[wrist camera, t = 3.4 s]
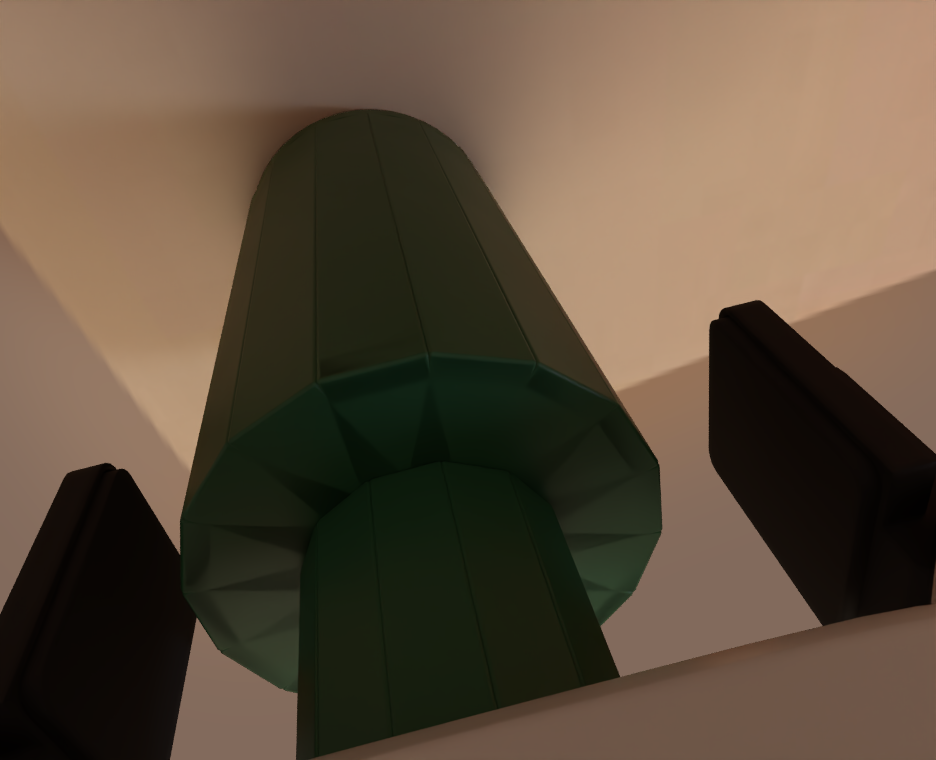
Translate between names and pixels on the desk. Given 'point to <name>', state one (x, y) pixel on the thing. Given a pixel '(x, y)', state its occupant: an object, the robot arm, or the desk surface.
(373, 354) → the bottle
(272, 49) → the desk surface
